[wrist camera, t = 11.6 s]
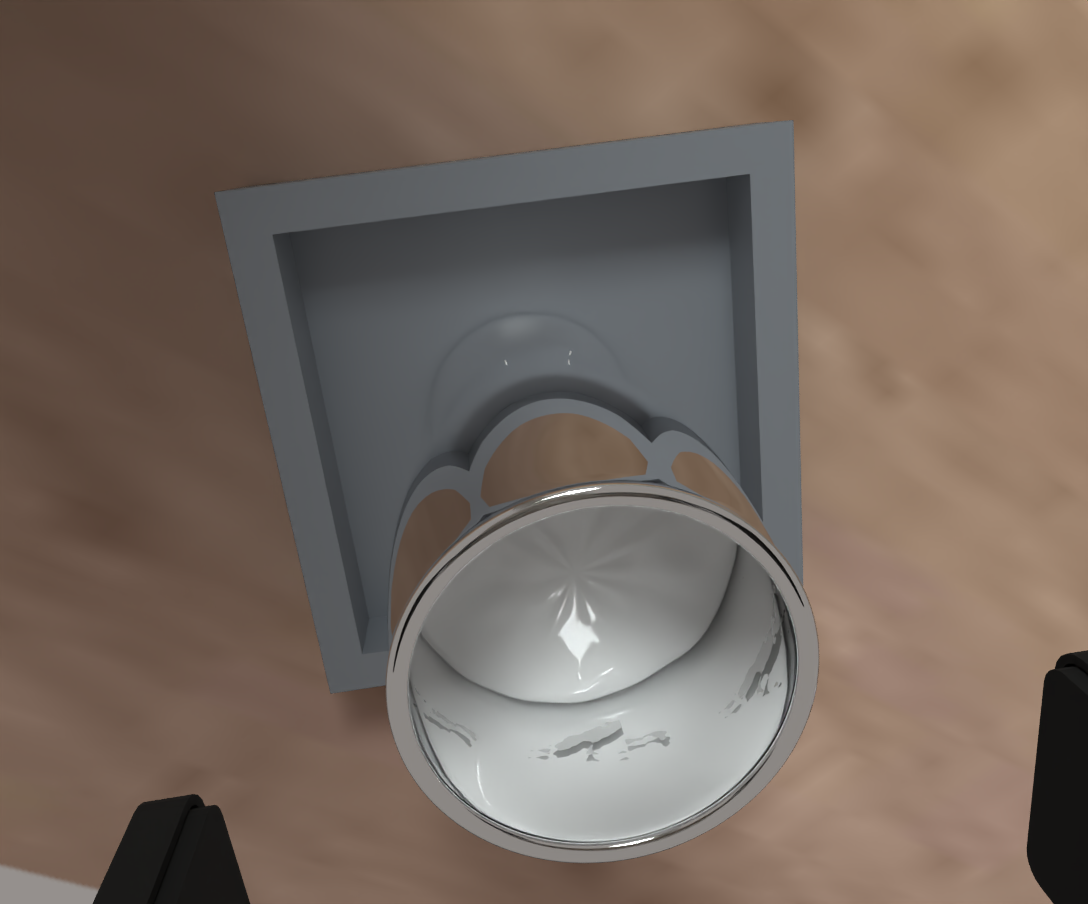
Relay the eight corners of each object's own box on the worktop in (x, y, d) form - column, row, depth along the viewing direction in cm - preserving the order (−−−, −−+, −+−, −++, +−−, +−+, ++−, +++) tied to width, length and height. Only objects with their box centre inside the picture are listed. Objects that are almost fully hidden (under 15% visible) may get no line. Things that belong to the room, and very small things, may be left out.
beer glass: (677, 452, 28) (897, 756, 14) (484, 550, 29) (509, 940, 15) (580, 254, 26) (727, 382, 12) (373, 365, 26) (275, 615, 12)
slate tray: (241, 187, 25) (214, 192, 22) (756, 122, 26) (793, 120, 23) (342, 642, 30) (330, 693, 27) (772, 578, 31) (803, 621, 28)
